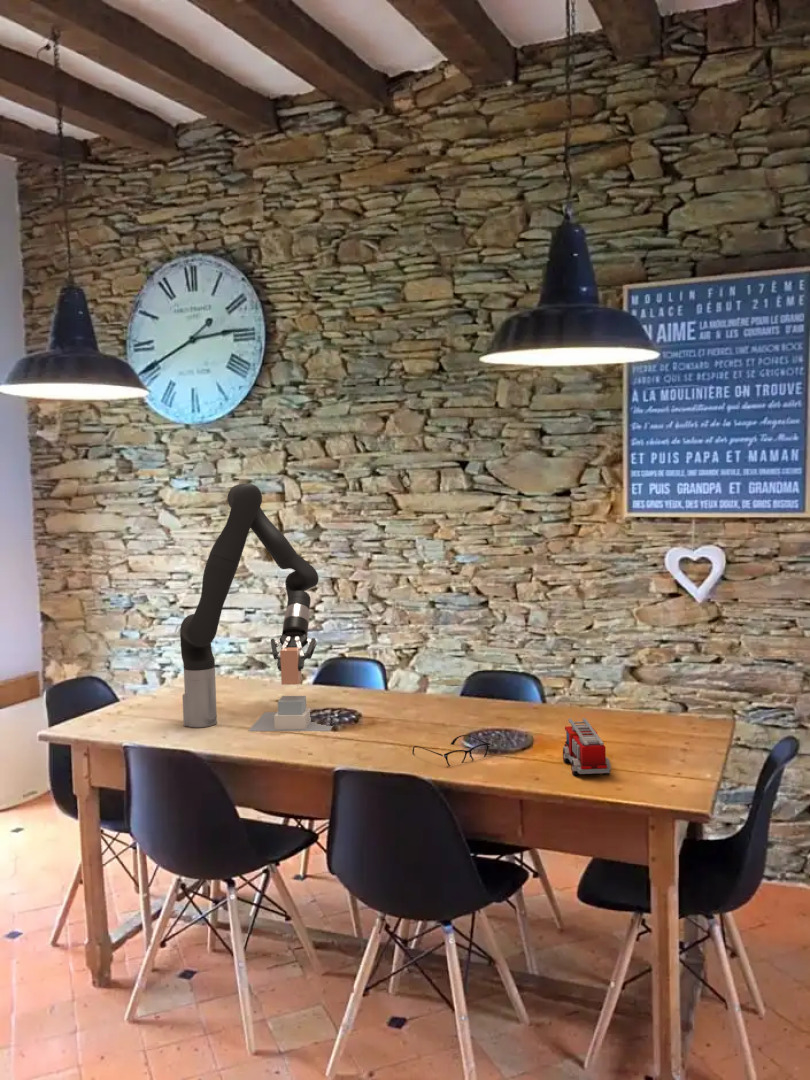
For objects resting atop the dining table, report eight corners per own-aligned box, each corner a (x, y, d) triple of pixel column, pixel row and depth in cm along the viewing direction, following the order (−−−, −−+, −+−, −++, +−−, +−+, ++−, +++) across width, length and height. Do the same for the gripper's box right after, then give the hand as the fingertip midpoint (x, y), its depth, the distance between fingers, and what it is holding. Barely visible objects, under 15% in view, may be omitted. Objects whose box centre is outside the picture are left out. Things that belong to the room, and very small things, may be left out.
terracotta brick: (281, 684, 271) (280, 650, 271) (285, 680, 276) (283, 647, 276) (298, 684, 271) (297, 650, 270) (301, 680, 276) (300, 647, 275)
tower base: (274, 729, 270) (273, 702, 270) (280, 721, 279) (280, 695, 279) (305, 729, 270) (304, 702, 269) (310, 721, 278) (309, 695, 278)
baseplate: (247, 733, 269) (247, 731, 269) (264, 714, 291) (264, 712, 291) (330, 733, 268) (330, 730, 267) (341, 714, 289) (340, 711, 289)
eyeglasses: (444, 769, 233) (443, 754, 233) (406, 755, 246) (406, 740, 245) (493, 757, 243) (493, 742, 242) (455, 744, 255) (454, 729, 255)
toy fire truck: (594, 756, 240) (594, 718, 239) (613, 779, 221) (613, 738, 221) (560, 757, 240) (559, 719, 239) (576, 780, 221) (575, 739, 220)
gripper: (270, 615, 280) (263, 662, 269) (317, 614, 279) (312, 662, 268) (275, 629, 286) (268, 677, 275) (321, 629, 285) (316, 676, 274)
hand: (290, 669), depth 272 cm, fingers closed on terracotta brick, 5 cm apart
